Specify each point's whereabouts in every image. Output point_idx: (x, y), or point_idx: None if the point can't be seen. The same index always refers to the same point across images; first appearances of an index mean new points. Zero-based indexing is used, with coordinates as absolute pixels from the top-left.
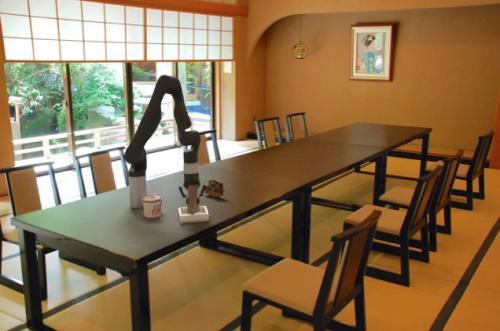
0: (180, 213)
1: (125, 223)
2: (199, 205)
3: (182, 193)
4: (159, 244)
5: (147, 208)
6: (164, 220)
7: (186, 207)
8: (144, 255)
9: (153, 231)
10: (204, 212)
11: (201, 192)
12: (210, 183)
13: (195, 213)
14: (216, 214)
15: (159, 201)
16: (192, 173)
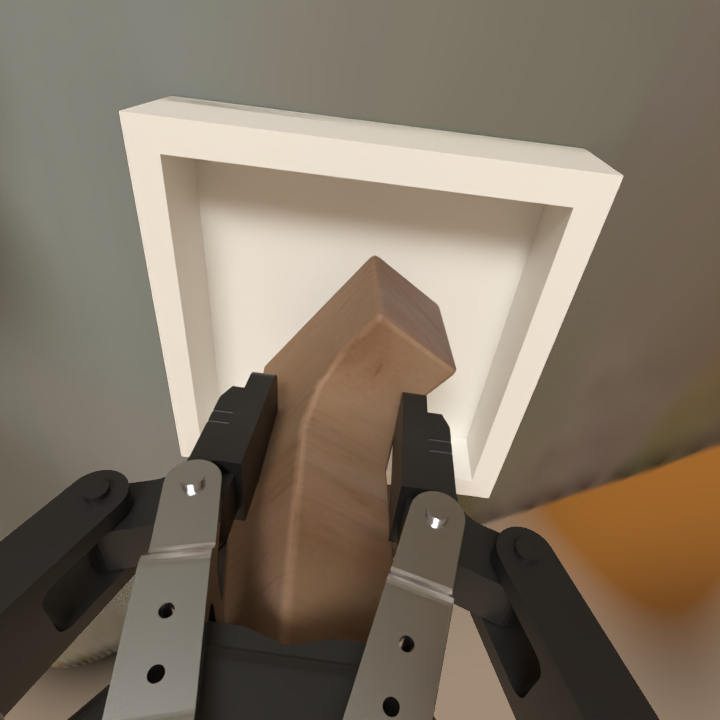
0: (181, 383)
1: None
2: (452, 367)
3: (62, 620)
4: (113, 616)
5: None
6: (29, 276)
7: (266, 150)
8: (74, 660)
9: (18, 478)
10: (528, 249)
11: (502, 675)
12: None
13: (398, 245)
14: (657, 298)
15: None
16: None
